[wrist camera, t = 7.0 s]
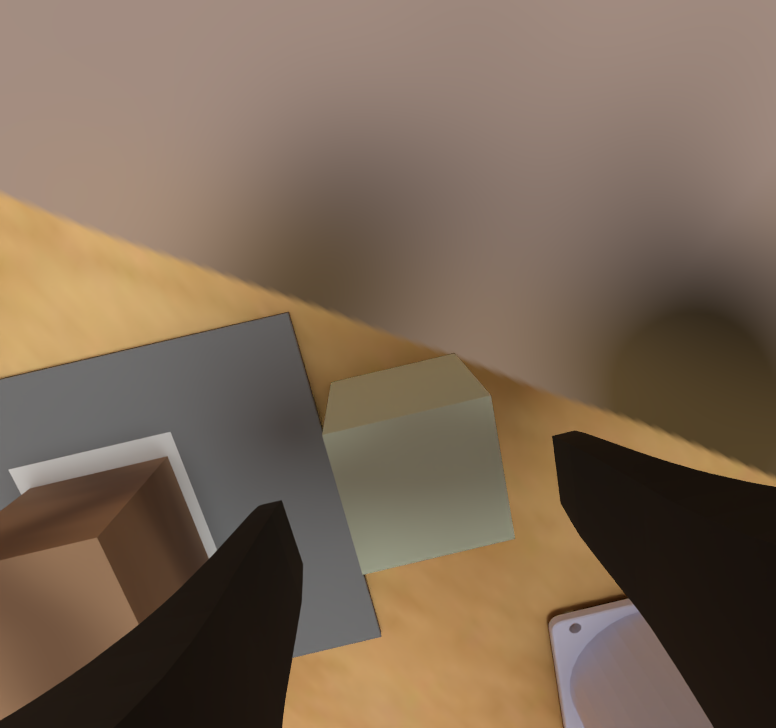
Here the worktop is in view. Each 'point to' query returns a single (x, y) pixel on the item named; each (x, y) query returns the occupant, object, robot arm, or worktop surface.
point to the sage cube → (417, 463)
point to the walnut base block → (87, 570)
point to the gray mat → (202, 449)
